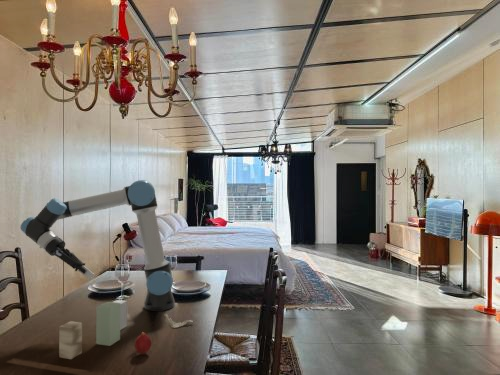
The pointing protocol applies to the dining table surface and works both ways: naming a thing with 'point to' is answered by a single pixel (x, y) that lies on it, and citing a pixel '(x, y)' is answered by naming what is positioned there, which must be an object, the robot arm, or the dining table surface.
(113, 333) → the pale green block
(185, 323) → the jawbone
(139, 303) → the dining table surface
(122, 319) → the grey block
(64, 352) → the birch block
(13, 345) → the dining table surface
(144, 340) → the red pomegranate
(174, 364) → the dining table surface
